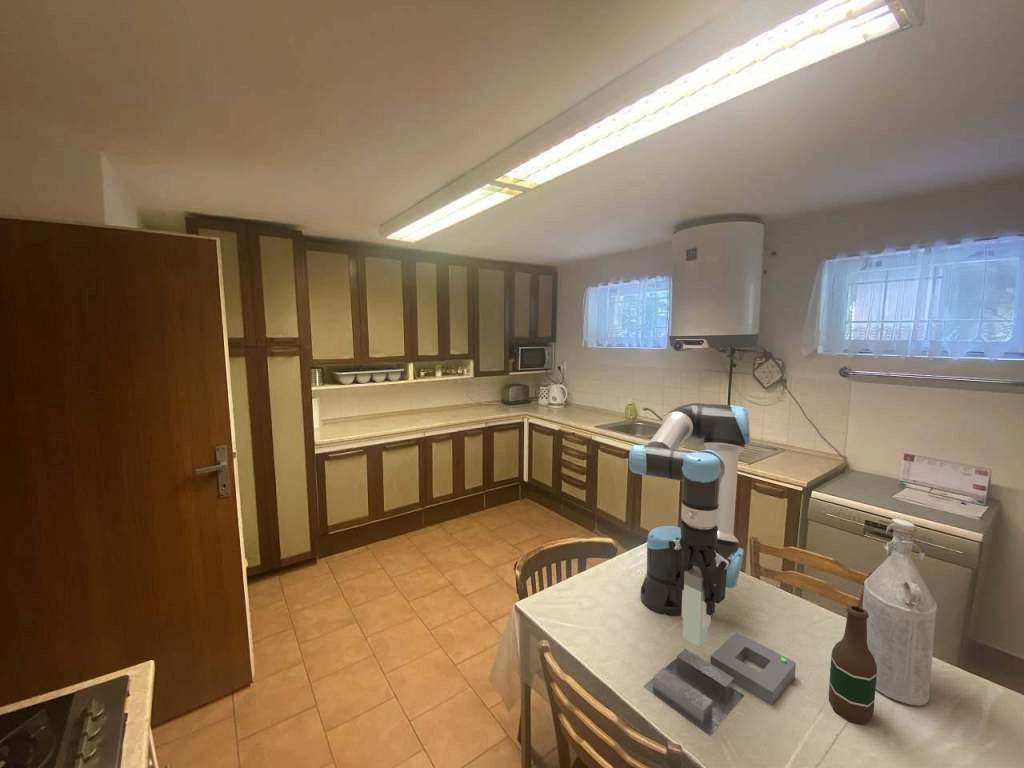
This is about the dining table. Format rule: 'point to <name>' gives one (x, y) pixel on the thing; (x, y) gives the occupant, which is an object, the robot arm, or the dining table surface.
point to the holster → (696, 690)
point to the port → (760, 684)
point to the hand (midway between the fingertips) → (695, 620)
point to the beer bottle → (853, 671)
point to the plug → (693, 607)
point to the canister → (900, 620)
